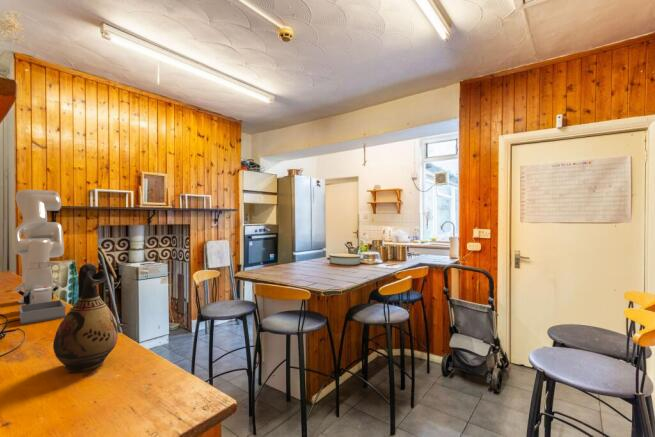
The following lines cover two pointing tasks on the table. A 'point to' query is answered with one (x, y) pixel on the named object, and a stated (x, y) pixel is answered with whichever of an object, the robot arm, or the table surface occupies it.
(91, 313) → the ceramic jug
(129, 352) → the table surface
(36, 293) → the light bulb box
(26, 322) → the tray
